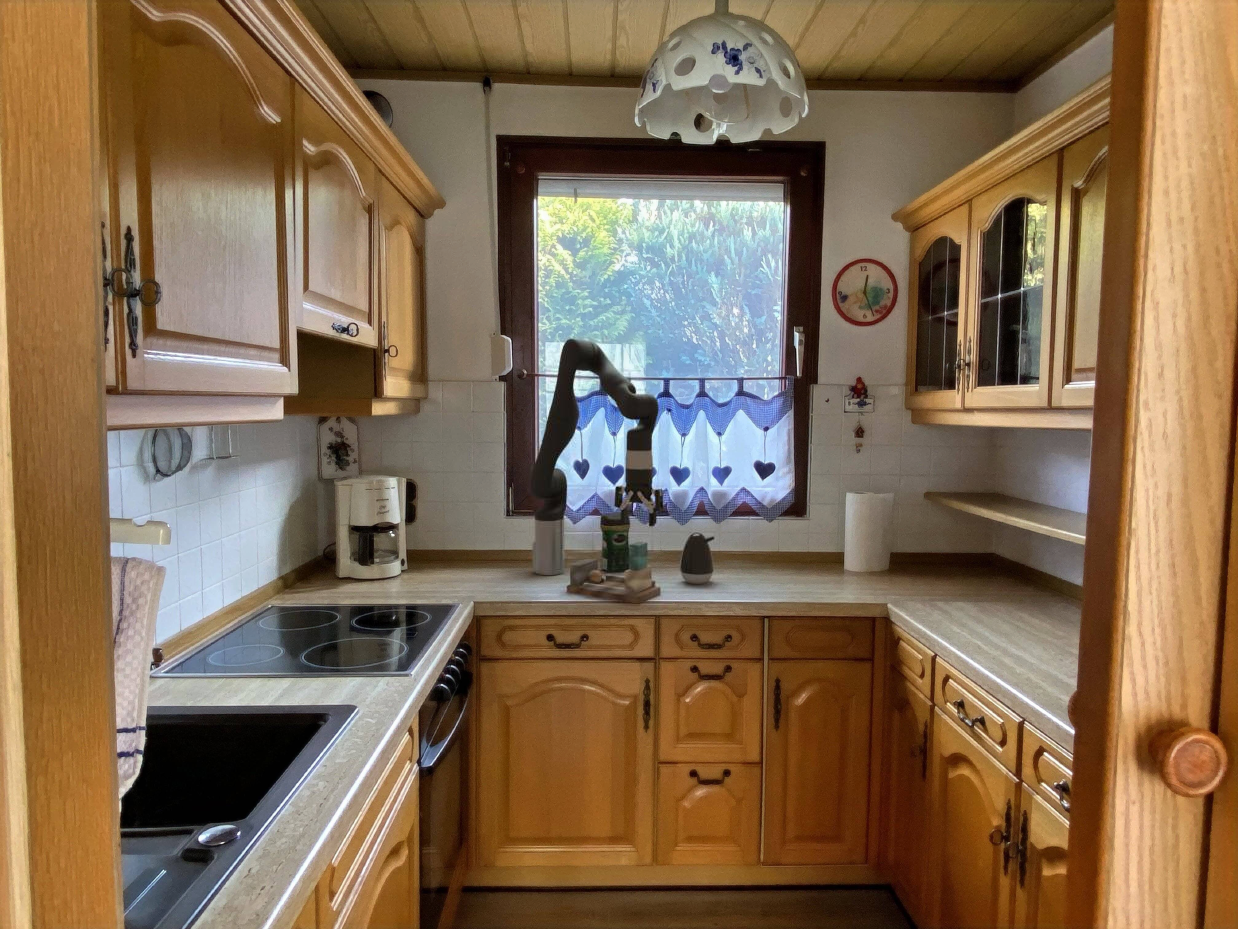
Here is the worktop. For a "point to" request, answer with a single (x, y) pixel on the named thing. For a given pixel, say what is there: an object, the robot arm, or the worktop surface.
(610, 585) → the base
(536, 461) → the robot arm
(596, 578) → the walnut
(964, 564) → the worktop surface
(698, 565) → the pump dispenser
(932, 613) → the worktop surface
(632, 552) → the sliding jaw
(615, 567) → the coffee jar
